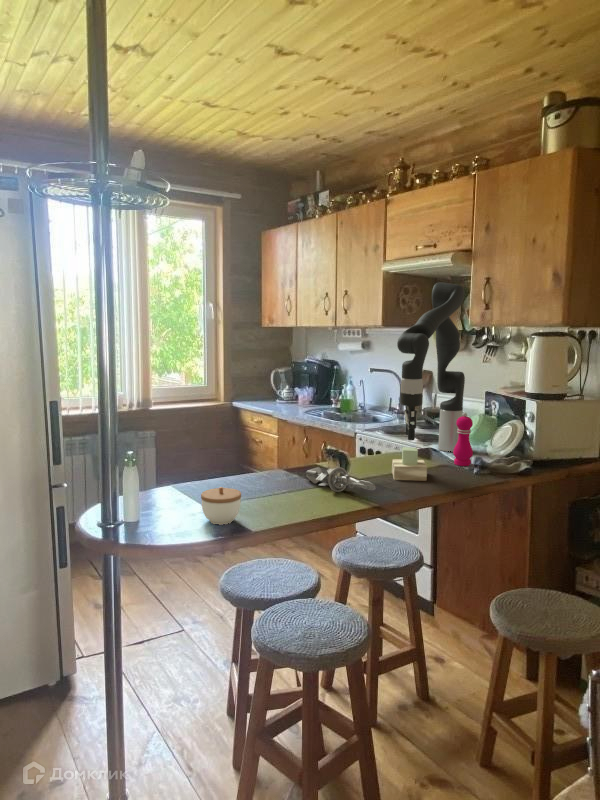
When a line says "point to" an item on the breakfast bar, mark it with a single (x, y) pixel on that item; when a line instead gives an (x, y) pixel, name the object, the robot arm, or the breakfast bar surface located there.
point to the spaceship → (337, 479)
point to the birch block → (409, 470)
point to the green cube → (409, 456)
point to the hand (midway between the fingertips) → (410, 437)
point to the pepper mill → (463, 441)
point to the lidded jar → (221, 504)
